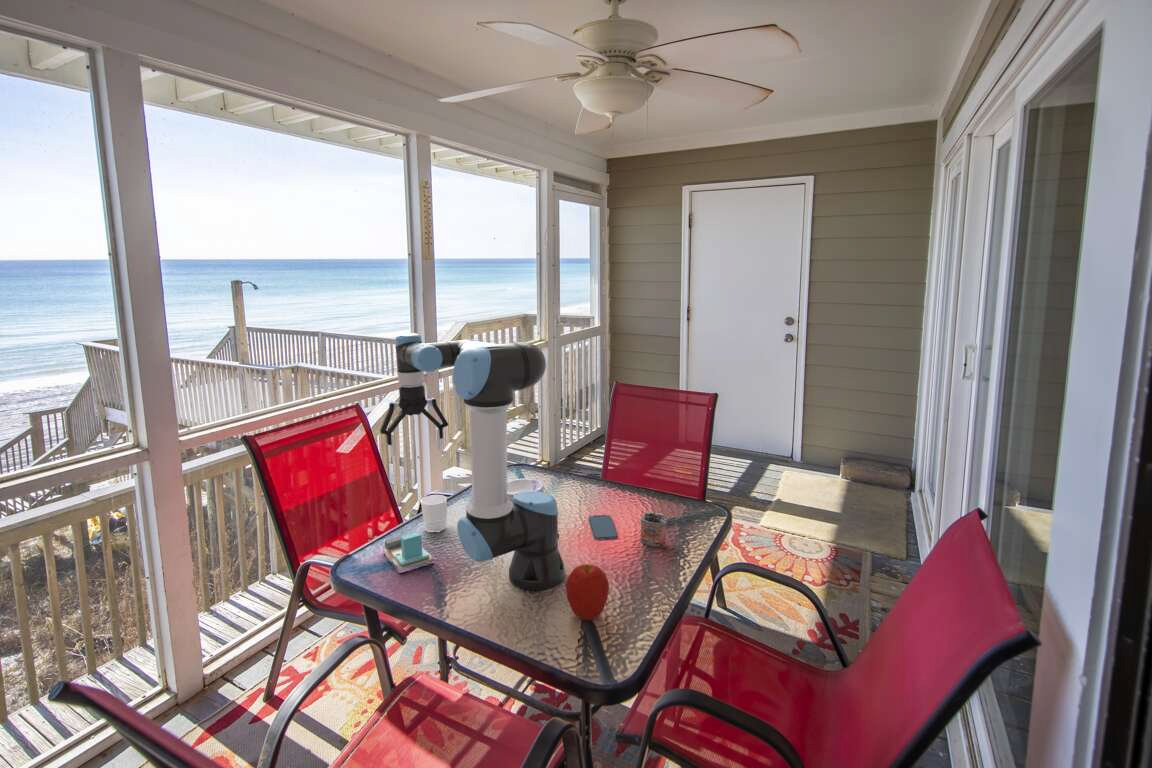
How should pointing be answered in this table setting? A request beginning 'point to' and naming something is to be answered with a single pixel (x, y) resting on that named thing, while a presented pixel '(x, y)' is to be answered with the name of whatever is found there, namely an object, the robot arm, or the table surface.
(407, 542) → the teal upright sign stand
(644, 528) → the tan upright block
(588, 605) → the apple
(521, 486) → the paper bowls
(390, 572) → the table surface
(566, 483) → the table surface
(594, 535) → the smartphone
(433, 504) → the white cup
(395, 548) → the ticket holder
